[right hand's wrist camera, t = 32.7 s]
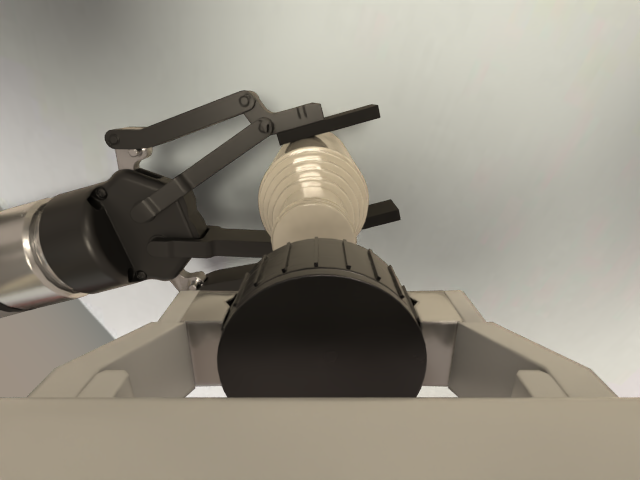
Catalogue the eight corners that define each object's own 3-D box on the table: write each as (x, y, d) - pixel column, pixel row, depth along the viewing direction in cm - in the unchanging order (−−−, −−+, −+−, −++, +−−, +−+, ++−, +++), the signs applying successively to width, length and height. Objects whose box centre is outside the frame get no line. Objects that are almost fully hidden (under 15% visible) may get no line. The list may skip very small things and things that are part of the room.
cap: (251, 215, 9) (232, 247, 7) (433, 258, 9) (463, 300, 8) (222, 367, 11) (200, 428, 9) (378, 398, 11) (391, 462, 9)
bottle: (351, 196, 33) (392, 302, 16) (282, 203, 33) (251, 315, 16) (346, 123, 31) (386, 158, 14) (272, 132, 31) (223, 176, 14)
